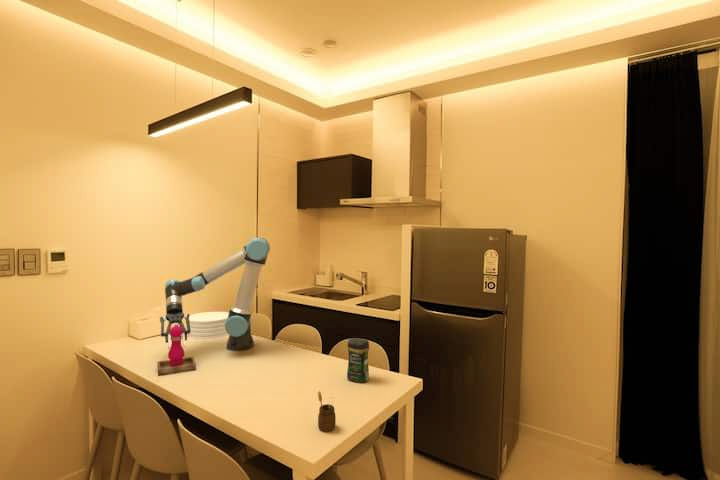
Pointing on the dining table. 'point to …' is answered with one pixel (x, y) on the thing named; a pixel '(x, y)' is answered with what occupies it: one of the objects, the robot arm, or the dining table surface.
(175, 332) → the pepper mill
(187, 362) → the tray
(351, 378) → the coffee jar
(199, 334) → the plate stack
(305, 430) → the dining table surface
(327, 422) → the utensil holder
